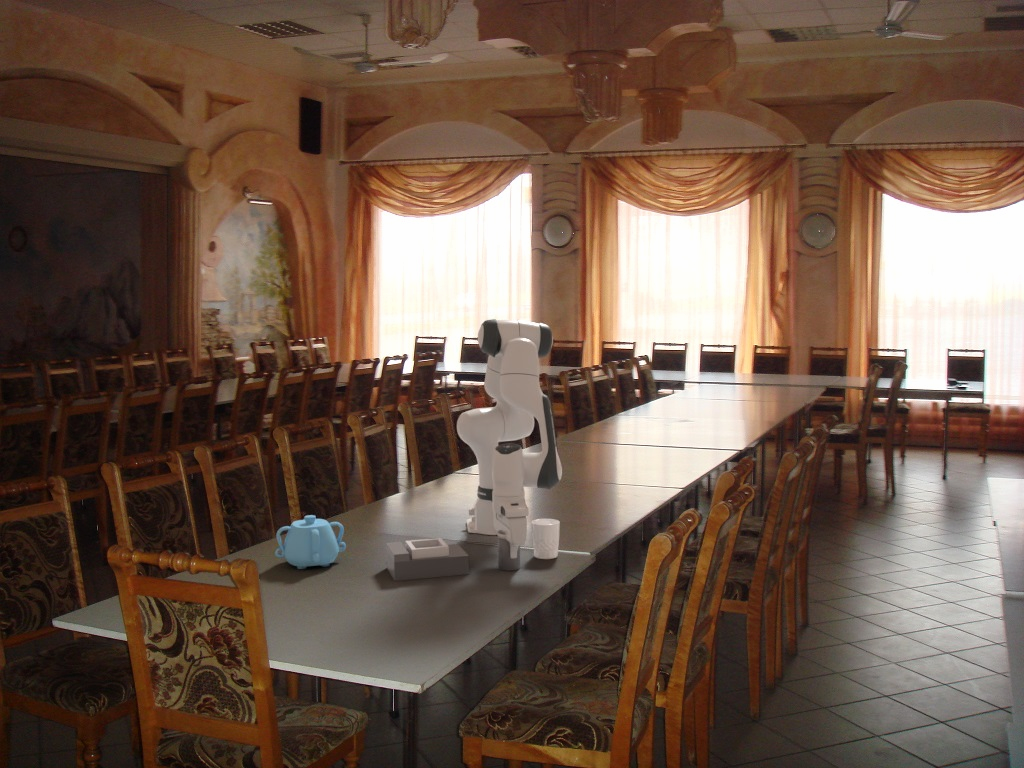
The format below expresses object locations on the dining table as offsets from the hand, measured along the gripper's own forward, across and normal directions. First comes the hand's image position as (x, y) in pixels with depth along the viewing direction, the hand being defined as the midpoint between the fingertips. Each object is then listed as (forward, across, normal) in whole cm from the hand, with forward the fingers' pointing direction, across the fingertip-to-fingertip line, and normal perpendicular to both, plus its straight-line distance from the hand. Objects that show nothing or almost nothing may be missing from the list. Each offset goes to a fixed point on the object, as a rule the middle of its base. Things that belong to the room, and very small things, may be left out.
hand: (509, 554), depth 277 cm
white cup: (+4, -8, +13) cm, 16 cm away
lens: (+4, 0, 0) cm, 4 cm away
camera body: (+4, -4, -22) cm, 23 cm away
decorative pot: (+4, -22, -51) cm, 56 cm away
